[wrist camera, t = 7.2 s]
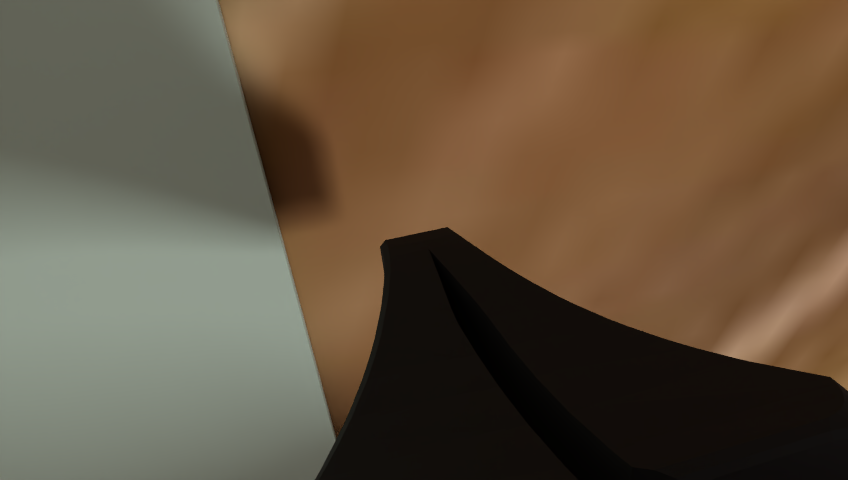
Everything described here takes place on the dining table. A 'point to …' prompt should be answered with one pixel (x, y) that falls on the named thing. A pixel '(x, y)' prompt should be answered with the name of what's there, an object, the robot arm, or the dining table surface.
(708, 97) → the dining table surface
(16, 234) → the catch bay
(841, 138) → the dining table surface
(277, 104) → the dining table surface
